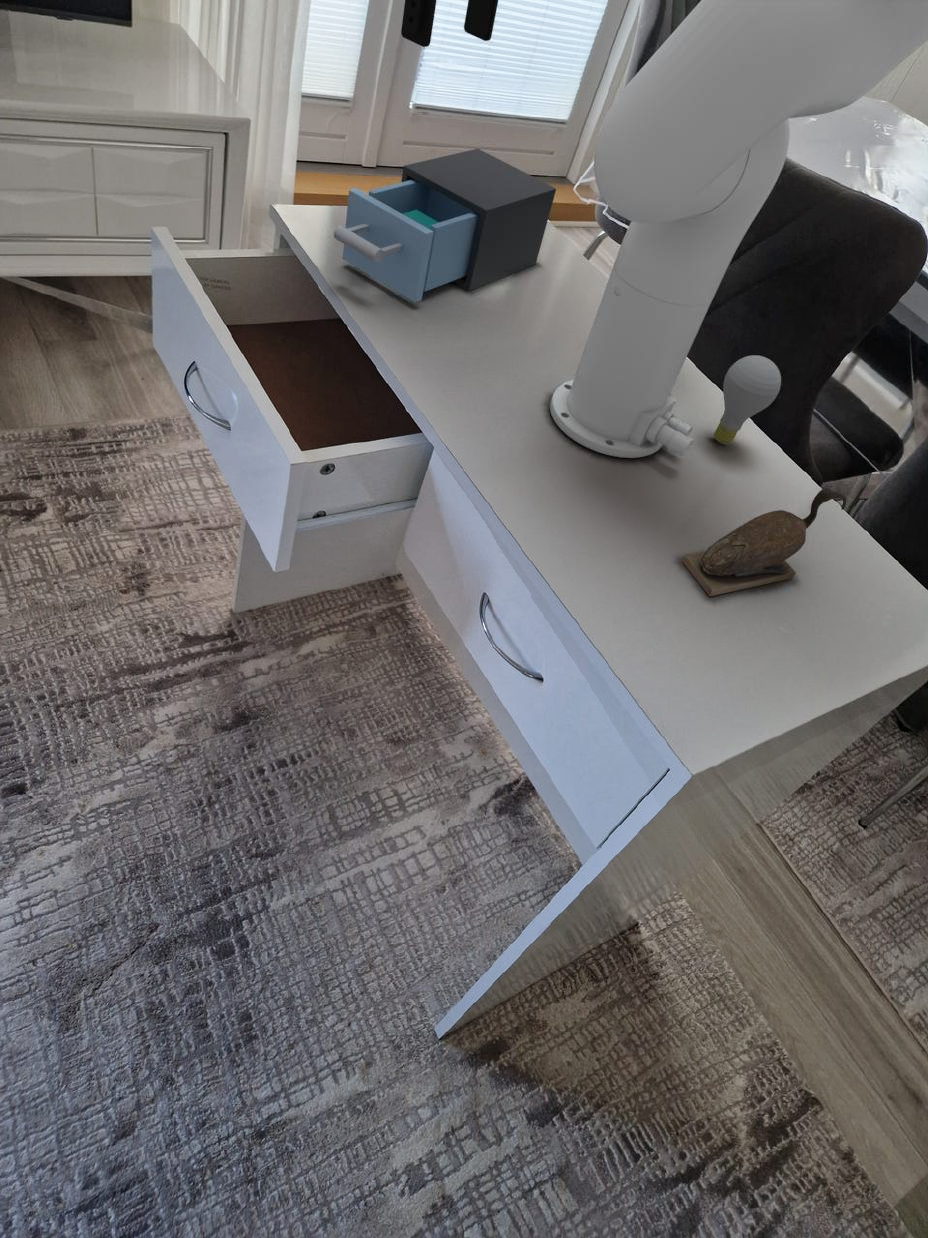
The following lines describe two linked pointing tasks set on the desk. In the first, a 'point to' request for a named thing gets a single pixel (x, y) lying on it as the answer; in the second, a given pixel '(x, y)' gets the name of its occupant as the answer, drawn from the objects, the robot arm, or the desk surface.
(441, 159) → the drawer cabinet
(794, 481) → the desk surface
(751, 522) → the figurine
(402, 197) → the blue drawer
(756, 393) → the light bulb
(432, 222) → the teal cube
